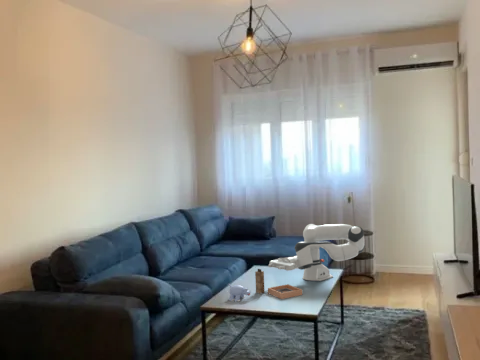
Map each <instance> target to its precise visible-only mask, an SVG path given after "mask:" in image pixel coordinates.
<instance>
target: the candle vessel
mask: <svg viewBox="0 0 480 360" xmlns="http://www.w3.org/2000/svg"><path fill="white" fill-rule="evenodd" d="M267 294H268V295H270V296H274V297H276V298H278V299H281V300H284V299H289V298H293V297H298V296H303V289H302V288H300V287H296V286H294V285H291V284H282V285H277V286H271V287H268V288H267Z"/></svg>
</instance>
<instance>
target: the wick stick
mask: <svg viewBox="0 0 480 360" xmlns="http://www.w3.org/2000/svg"><path fill="white" fill-rule="evenodd" d="M254 273H255V277H254V278H255V293H256V294H257V293H258V294H264V293H265V272H264V271H263V270H262V269H260V268H257V270H256V271H255V272H254Z"/></svg>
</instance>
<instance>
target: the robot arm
mask: <svg viewBox="0 0 480 360" xmlns="http://www.w3.org/2000/svg"><path fill="white" fill-rule="evenodd" d="M302 237H303V240H304V241H299V242H296V244H295V246H294V250H295V254H296V255H294V256H288V257H279V258H275V259H273V260H269V264H268V265H267V266H268V268H275V269H278V270H285V271H287V272H288V271H293V270H296V269H299V270H301V271H302V270H303V275H302V279H303V280H306V281H318V282H319V281H320V282H321V281H324V280H328V279H331V278H334V276H333V274H331V273H330V270H329V269H330V268H328V267H327V266H325V265H324V264H323V263H324V262H325V259H323V258H320V248H322V249H324V250H325V252H327V254H328V256H329V257H330V258H331V259H332V260H333V261H335V262H343V261H347V260H350V259H354V258H355V257H357V256H358V255H359V254H361V253H363V252H364V250H365V247H366V244H365V243H366V240H365V232H364V230H363V228H362V227H361V226H359V225H351V224H346V223H345V224H344V223H335V224H333V223H331V224H323V225H316V224H315V223H309V224H307V225H306V226H305V227H304V229H303V232H302ZM330 240H331V241H330ZM332 240H334V241H335V240H336V241H337V240H345V241H347V242H346V243H342V244H341V243H340V244H335V243H333V242H332Z"/></svg>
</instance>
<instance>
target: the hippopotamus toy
mask: <svg viewBox="0 0 480 360" xmlns="http://www.w3.org/2000/svg"><path fill="white" fill-rule="evenodd" d="M228 286H229V290H228V292H229V298H228V300H229V301H230V302H231V301H233V302H240V301H241V299H245V298H246V296H247V297H248V296H250V295H251V290H249V289H248V287H244V286H242V285H240V284H234V285H232V284H231V283H228Z"/></svg>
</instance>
